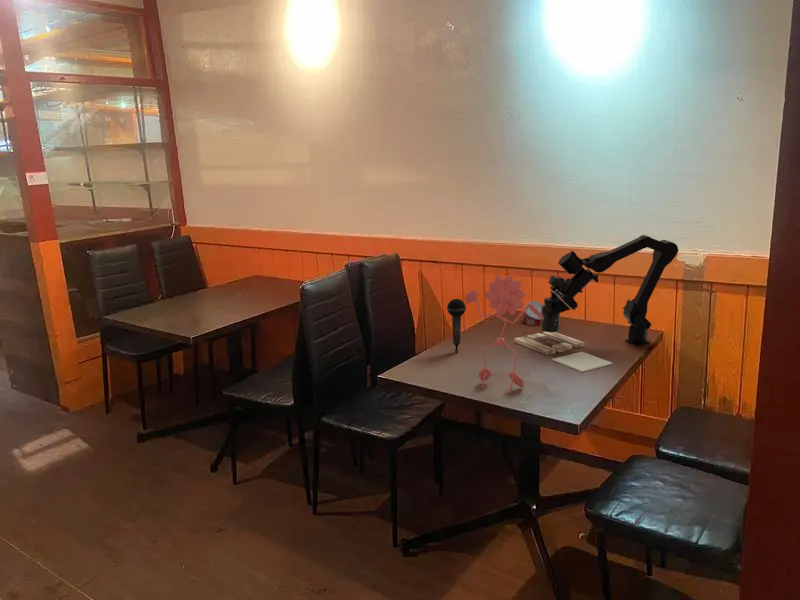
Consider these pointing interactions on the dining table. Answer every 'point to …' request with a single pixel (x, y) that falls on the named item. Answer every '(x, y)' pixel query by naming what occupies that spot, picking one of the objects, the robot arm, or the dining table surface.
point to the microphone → (456, 319)
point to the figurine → (504, 299)
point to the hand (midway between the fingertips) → (546, 313)
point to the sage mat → (582, 361)
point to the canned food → (532, 314)
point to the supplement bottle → (549, 321)
